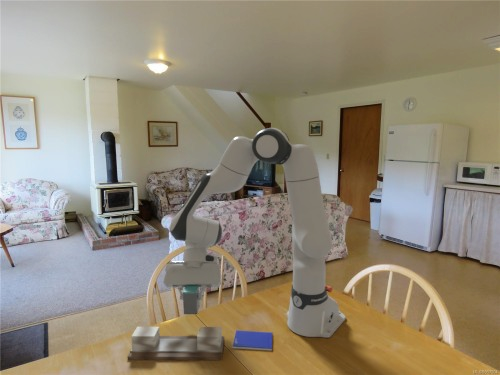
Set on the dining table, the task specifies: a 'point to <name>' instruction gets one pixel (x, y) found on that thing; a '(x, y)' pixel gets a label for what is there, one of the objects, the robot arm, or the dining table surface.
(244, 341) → the hard drive
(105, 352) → the dining table surface
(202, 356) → the board
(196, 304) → the block
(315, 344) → the dining table surface
